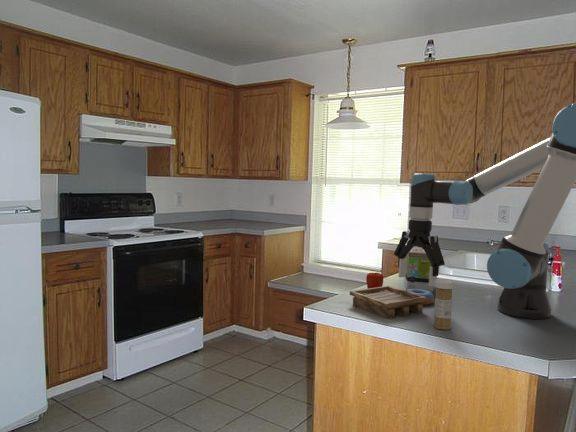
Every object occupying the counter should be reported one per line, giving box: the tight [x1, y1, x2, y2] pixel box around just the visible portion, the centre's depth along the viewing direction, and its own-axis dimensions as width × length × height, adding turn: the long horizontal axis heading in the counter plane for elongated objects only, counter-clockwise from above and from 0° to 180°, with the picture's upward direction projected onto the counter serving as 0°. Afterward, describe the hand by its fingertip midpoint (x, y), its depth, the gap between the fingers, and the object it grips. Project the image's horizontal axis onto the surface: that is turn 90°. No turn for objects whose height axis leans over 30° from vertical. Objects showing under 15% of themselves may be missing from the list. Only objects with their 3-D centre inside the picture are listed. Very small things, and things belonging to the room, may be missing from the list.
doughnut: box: [405, 289, 435, 306], centre depth 150 cm, size 10×10×5 cm
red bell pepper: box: [365, 272, 384, 293], centre depth 162 cm, size 6×6×8 cm
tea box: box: [404, 247, 434, 293], centre depth 172 cm, size 15×10×15 cm, turn 168°
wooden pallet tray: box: [349, 285, 426, 320], centre depth 141 cm, size 17×17×5 cm
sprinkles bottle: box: [433, 278, 454, 331], centre depth 123 cm, size 5×5×14 cm
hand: (416, 281), depth 151 cm, fingers open, 13 cm apart
